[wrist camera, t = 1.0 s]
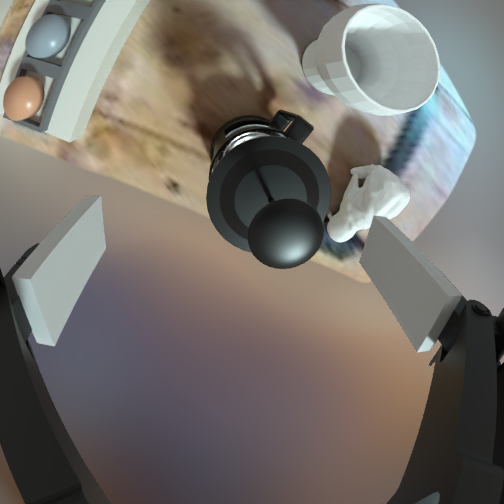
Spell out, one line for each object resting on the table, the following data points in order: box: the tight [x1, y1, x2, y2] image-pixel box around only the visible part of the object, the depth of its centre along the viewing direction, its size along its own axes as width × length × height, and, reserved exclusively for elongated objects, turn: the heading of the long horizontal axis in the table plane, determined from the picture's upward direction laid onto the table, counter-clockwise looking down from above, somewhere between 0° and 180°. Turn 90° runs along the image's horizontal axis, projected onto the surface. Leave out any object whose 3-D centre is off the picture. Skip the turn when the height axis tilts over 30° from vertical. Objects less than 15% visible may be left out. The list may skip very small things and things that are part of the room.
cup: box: [302, 4, 440, 115], centre depth 25 cm, size 11×11×15 cm
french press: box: [206, 110, 331, 269], centre depth 26 cm, size 12×9×23 cm
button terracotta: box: [3, 76, 45, 121], centre depth 23 cm, size 5×5×2 cm
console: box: [0, 0, 150, 142], centre depth 23 cm, size 22×14×6 cm, turn 151°
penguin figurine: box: [327, 164, 410, 242], centre depth 37 cm, size 6×8×12 cm
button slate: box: [25, 14, 71, 58], centre depth 20 cm, size 5×5×2 cm
